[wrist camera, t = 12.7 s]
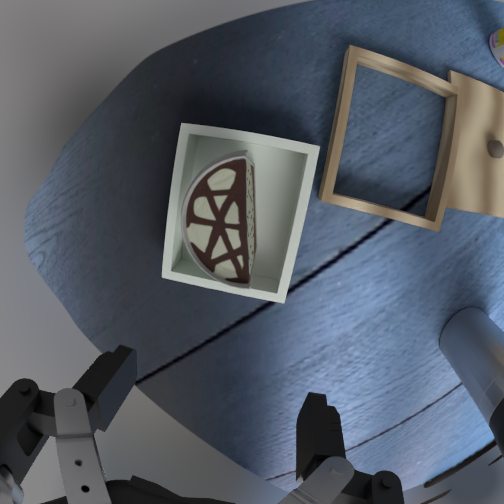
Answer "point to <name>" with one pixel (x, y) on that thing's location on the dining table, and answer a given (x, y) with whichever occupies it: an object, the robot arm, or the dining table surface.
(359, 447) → the dining table surface
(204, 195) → the food container
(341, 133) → the bin frame
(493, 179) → the bin lid
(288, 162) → the bin
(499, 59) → the supplement bottle
